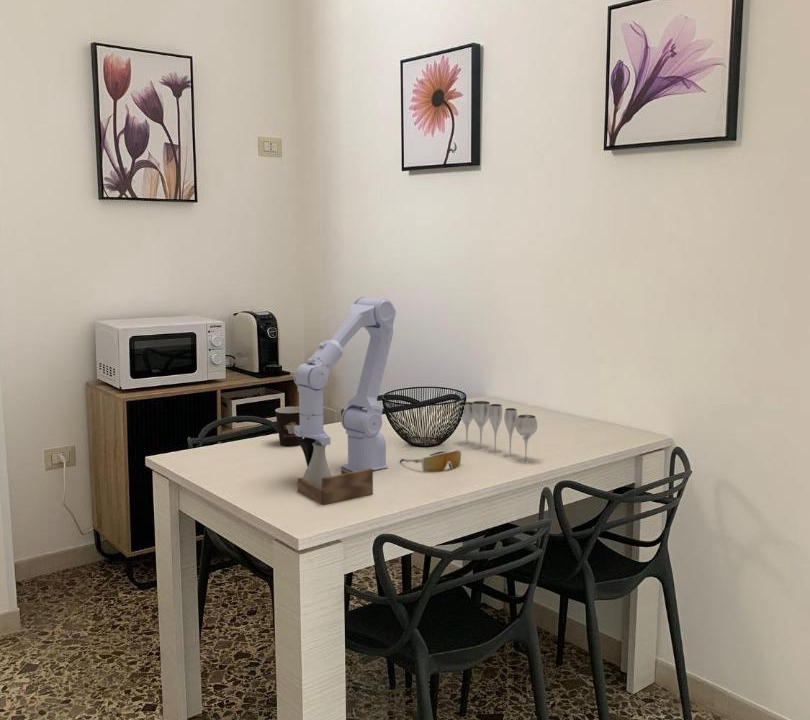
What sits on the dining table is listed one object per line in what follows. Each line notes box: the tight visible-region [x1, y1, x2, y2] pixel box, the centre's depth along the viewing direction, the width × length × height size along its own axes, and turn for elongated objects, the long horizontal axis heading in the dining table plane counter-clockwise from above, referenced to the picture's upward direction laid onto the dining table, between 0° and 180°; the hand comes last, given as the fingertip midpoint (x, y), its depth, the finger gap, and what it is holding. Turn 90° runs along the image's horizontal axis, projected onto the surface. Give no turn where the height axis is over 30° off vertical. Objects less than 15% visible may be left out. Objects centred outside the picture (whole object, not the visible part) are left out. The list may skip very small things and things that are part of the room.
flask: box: [301, 441, 332, 488], centre depth 199 cm, size 7×7×10 cm
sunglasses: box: [399, 449, 462, 473], centre depth 218 cm, size 14×15×5 cm
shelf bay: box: [296, 468, 374, 506], centre depth 194 cm, size 13×12×6 cm
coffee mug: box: [275, 406, 304, 448], centre depth 238 cm, size 12×9×10 cm
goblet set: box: [458, 400, 538, 464], centre depth 229 cm, size 28×6×13 cm, turn 39°
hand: (312, 468), depth 202 cm, fingers closed
